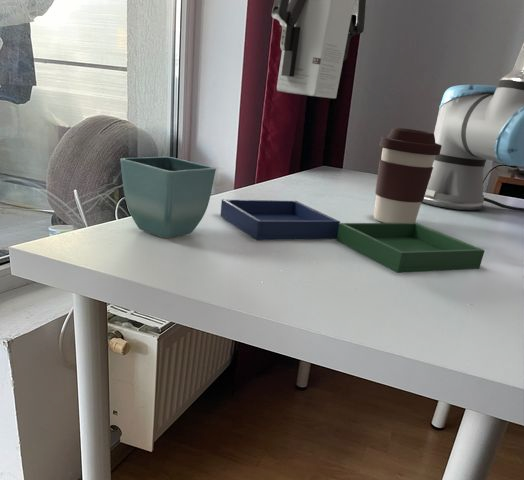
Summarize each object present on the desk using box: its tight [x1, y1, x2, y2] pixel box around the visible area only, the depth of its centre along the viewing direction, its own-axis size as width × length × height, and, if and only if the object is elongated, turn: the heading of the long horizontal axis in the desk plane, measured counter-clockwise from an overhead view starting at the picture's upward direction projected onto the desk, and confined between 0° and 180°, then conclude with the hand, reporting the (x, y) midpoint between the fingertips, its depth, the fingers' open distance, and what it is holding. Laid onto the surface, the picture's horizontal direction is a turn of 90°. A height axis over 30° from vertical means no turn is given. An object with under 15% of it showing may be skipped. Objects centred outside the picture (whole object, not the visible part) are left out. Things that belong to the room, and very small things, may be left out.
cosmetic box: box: [276, 0, 354, 99], centre depth 84 cm, size 8×6×15 cm
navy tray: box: [220, 198, 341, 241], centre depth 83 cm, size 13×13×3 cm
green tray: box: [335, 222, 485, 274], centre depth 77 cm, size 14×14×3 cm
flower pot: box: [119, 156, 217, 239], centre depth 72 cm, size 9×9×9 cm
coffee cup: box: [373, 127, 442, 223], centre depth 94 cm, size 10×10×15 cm
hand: (310, 79), depth 86 cm, fingers closed on cosmetic box, 7 cm apart
